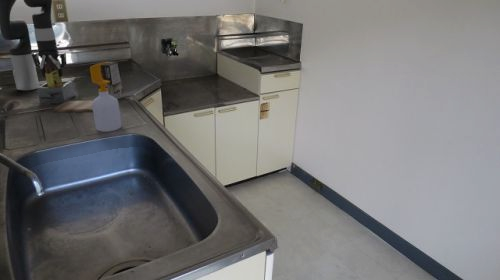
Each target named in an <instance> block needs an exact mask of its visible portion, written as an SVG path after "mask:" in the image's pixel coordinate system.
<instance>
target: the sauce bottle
mask: <svg viewBox="0 0 500 280" xmlns="http://www.w3.org/2000/svg"><path fill="white" fill-rule="evenodd" d="M50 54H51V53H50V52H45V55H46V59H47V62H46V64H45V67H44V69H45V76H46V77H45V80H46V82H47V87H61V86H63V84H62V81H63V79H62V77H59V73H58V67H57V66H56V65H55V64H54V63H53V62H52V60H51V59H50V58H49V55H50Z"/></svg>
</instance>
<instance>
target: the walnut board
mask: <svg viewBox="0 0 500 280" xmlns="http://www.w3.org/2000/svg"><path fill="white" fill-rule="evenodd" d="M92 103H93V100H68V101H65V102H64V103H60V105H58V106H56V108H54V112H55V113H67V112H69V113H72V112H78V113H79V112H81V113H83V112H87V113H88V112H93V107H92Z"/></svg>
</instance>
